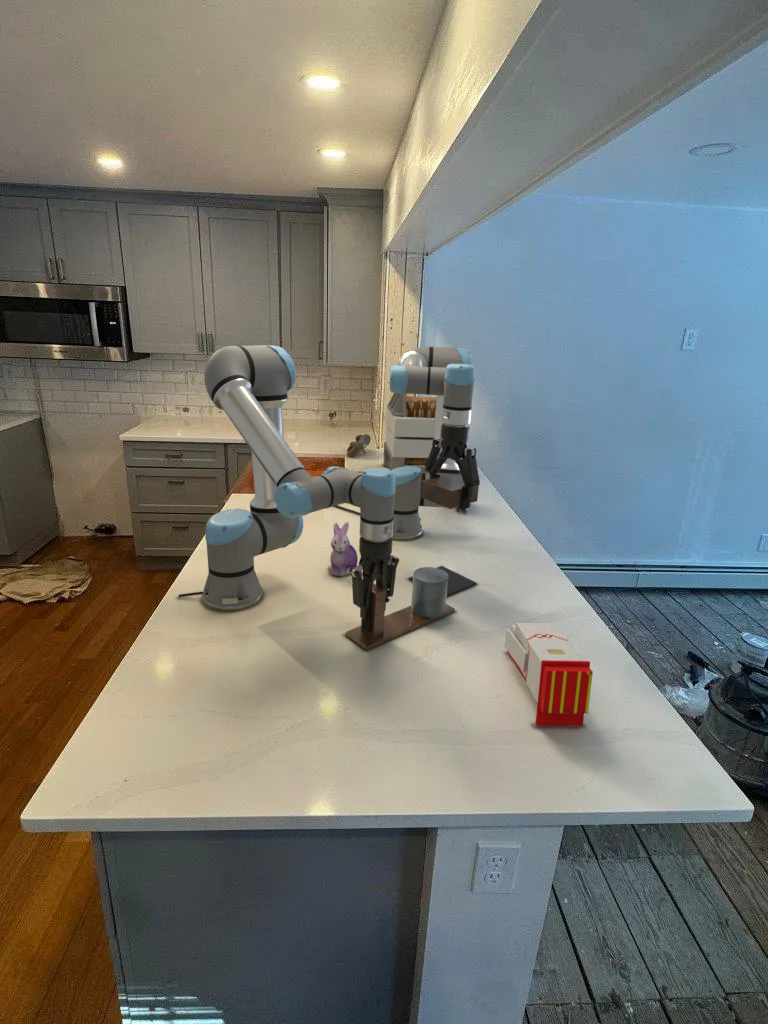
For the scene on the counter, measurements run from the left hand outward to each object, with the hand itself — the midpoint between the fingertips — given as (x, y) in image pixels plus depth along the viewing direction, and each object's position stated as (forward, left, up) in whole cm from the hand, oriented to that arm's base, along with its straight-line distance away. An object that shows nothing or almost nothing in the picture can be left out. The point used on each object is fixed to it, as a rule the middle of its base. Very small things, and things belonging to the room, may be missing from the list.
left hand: (372, 626), depth 136 cm
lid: (+12, +34, +23) cm, 43 cm away
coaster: (+13, +34, -3) cm, 36 cm away
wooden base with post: (+6, +8, -3) cm, 10 cm away
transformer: (-14, +147, -3) cm, 148 cm away
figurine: (-17, +32, -3) cm, 37 cm away
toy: (+39, -7, -3) cm, 40 cm away
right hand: (+12, +34, +22) cm, 42 cm away
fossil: (-52, +173, -3) cm, 181 cm away
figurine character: (+10, +102, -3) cm, 103 cm away
